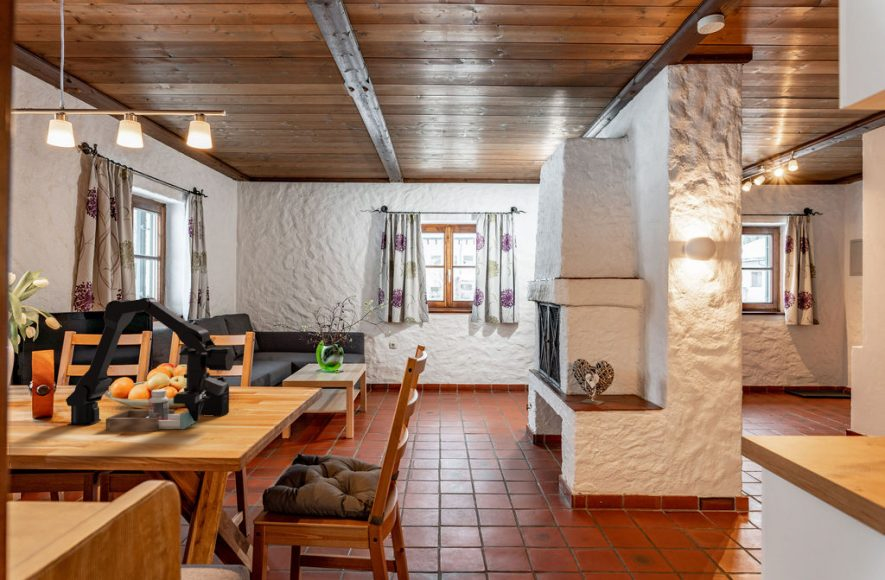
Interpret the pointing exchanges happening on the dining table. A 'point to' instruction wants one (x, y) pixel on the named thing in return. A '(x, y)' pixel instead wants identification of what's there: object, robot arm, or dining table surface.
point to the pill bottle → (159, 405)
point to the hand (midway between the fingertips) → (196, 421)
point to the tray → (176, 421)
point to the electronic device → (216, 403)
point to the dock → (133, 421)
